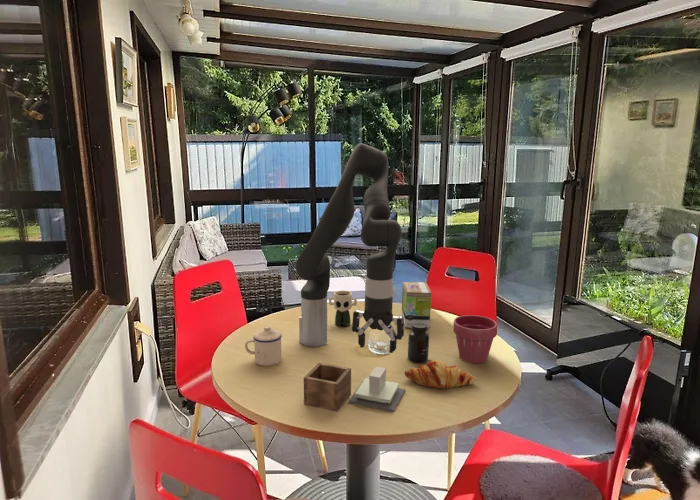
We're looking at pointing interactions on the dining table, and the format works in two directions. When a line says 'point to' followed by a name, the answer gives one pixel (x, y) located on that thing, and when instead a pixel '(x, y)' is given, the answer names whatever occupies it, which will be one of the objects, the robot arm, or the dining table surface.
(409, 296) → the tea box
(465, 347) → the plant pot
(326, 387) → the walnut box
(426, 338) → the supplement bottle
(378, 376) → the lid
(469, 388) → the dining table surface
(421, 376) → the croissant
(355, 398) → the rubber pad
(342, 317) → the character mug
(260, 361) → the teacup with lid
